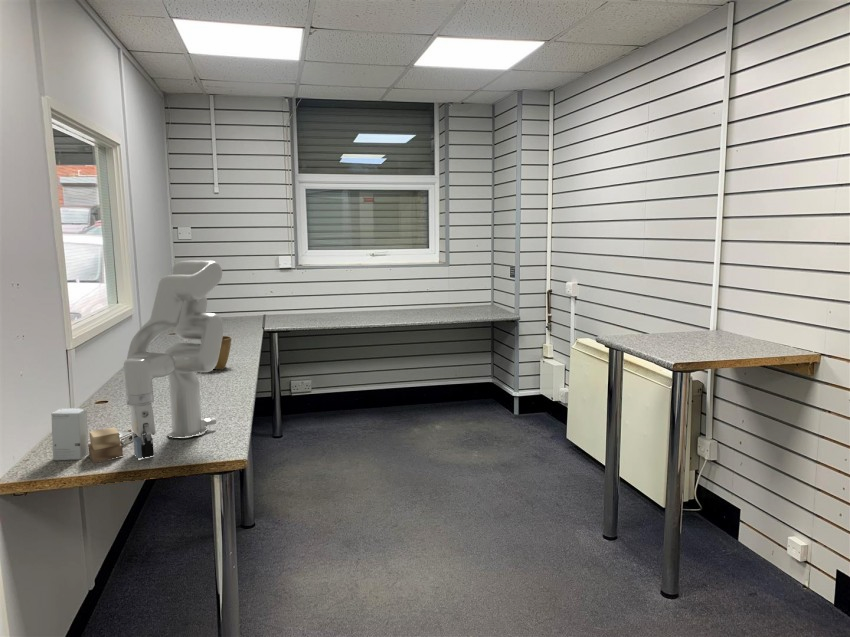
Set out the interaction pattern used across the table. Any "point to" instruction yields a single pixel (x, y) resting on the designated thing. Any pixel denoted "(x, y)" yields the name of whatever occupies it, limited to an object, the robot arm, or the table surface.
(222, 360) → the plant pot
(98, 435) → the oak slab
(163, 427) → the table surface
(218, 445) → the table surface
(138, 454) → the blue block
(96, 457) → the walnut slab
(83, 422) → the skincare box
